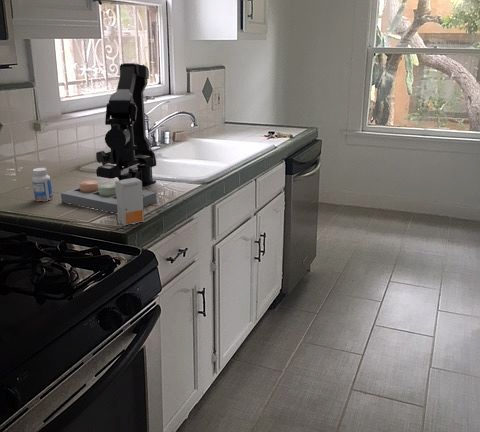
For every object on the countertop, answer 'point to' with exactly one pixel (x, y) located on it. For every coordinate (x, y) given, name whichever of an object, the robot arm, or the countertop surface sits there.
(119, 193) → the skincare box
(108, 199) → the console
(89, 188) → the button terracotta
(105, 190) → the button sage
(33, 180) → the pill bottle
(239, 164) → the countertop surface
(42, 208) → the countertop surface
